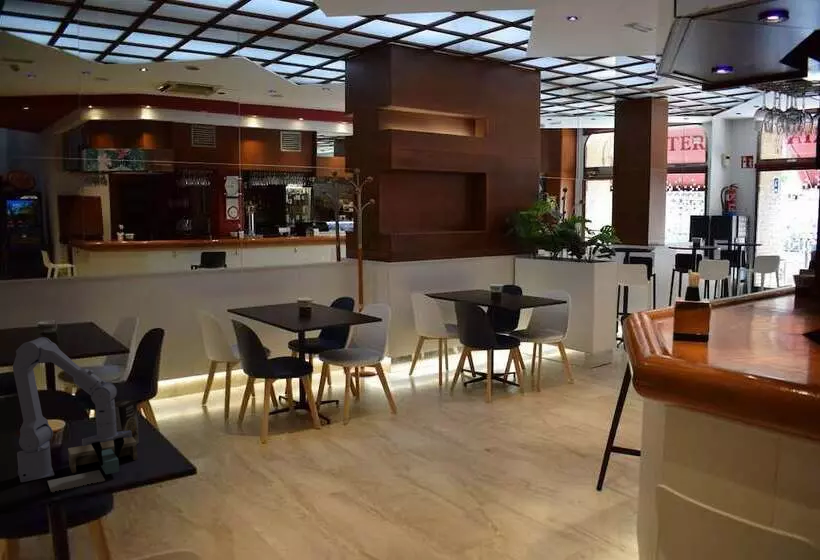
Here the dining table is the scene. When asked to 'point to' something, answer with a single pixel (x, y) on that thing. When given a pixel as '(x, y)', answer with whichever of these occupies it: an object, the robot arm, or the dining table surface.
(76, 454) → the shelf
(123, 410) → the coffee box
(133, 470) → the dining table surface
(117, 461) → the block
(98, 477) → the mat
